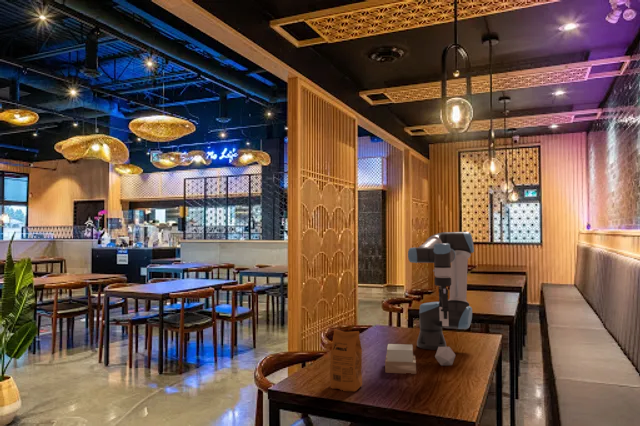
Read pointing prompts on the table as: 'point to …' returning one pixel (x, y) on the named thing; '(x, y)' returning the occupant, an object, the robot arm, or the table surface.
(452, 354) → the die
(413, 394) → the table surface
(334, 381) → the coffee package
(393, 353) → the top slab
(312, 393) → the table surface
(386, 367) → the bottom slab
